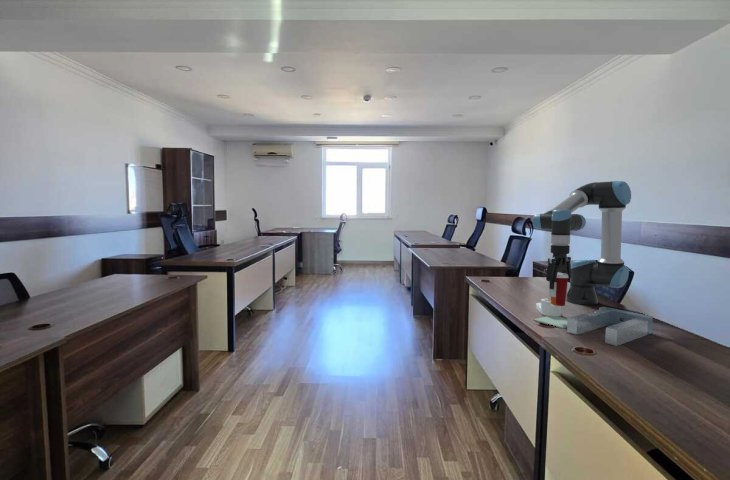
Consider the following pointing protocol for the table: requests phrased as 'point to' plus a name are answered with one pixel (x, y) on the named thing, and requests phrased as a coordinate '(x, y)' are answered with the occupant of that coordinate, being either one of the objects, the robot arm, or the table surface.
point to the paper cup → (560, 290)
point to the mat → (553, 321)
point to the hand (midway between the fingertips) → (558, 295)
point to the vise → (612, 324)
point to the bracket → (548, 308)
